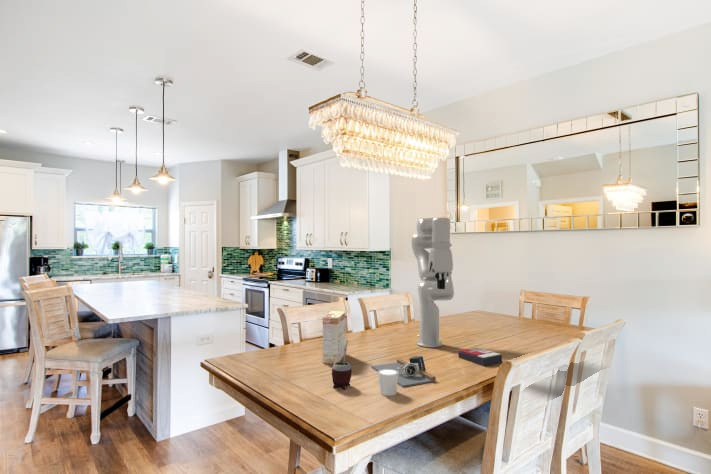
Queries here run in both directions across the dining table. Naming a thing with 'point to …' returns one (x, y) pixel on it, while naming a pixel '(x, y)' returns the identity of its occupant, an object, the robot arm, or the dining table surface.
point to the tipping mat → (407, 381)
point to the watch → (412, 367)
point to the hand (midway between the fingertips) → (441, 288)
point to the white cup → (388, 381)
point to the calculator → (480, 356)
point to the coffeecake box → (333, 336)
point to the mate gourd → (341, 373)
